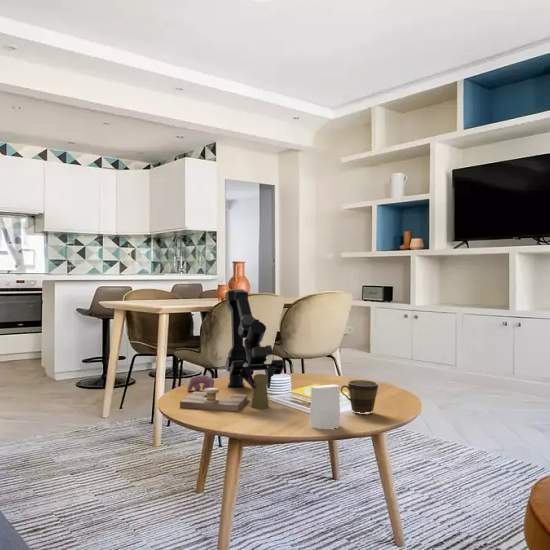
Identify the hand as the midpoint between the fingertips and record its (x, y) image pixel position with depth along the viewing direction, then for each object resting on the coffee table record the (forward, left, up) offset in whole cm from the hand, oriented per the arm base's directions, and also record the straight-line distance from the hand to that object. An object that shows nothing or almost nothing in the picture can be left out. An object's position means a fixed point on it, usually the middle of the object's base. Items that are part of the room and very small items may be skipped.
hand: (261, 388), depth 185 cm
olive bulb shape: (-1, 0, -7) cm, 7 cm away
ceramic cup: (+5, +33, -7) cm, 34 cm away
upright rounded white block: (+21, +20, -7) cm, 29 cm away
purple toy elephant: (-24, -23, -7) cm, 34 cm away
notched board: (-3, -16, -7) cm, 18 cm away
